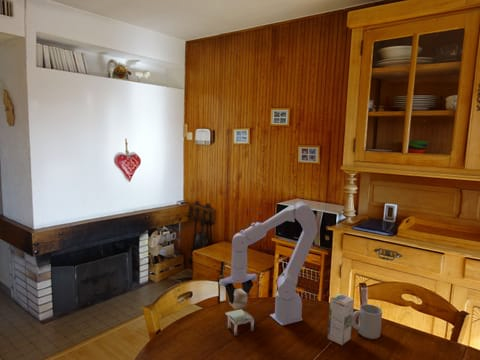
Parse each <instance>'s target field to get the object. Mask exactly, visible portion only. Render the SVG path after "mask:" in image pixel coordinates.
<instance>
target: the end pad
mask: <svg viewBox="0 0 480 360" xmlns="http://www.w3.org/2000/svg"><path fill="white" fill-rule="evenodd" d="M244 312H245V311H244V310H243V308H239V309H234V310H231V311H227V312H225V313H224V314H225V315H226V317H228V315H230V316H231V317H232V318H233V319H234V320H235V321H236V322H237V321H241V320H244ZM247 319H249V318H248V317H247Z"/></svg>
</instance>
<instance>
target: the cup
mask: <svg viewBox="0 0 480 360" xmlns="http://www.w3.org/2000/svg"><path fill="white" fill-rule="evenodd" d="M357 317H358V324H357V321H356V320H357ZM382 317H383V310H382V308H380V307H379V306H378V305H373V304H367V303H365V304H361V305H360V306H359V310H355V311H353V318H352V328H353V329H356V330H358V333H359V334H360V335H361V336H362V337H363V338H366V339H371V340H375V339H379V338H380V337H381V331H382V330H381V329H382V321H383V320H382V319H383V318H382Z"/></svg>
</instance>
